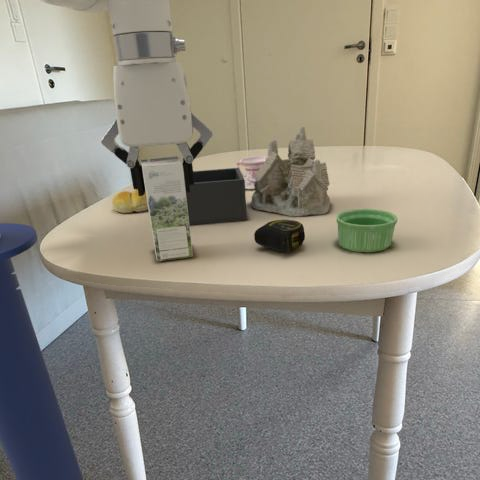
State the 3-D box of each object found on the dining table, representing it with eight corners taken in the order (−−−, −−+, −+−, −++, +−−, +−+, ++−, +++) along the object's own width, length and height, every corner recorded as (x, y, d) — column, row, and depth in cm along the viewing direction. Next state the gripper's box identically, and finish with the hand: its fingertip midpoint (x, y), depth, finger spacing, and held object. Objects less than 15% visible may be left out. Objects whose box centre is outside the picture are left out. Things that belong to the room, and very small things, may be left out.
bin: (181, 225, 85) (176, 185, 81) (182, 208, 96) (178, 172, 92) (246, 220, 85) (244, 179, 82) (241, 204, 96) (238, 167, 93)
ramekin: (378, 258, 64) (381, 229, 62) (324, 247, 70) (325, 220, 68) (403, 240, 70) (407, 213, 68) (352, 232, 75) (353, 206, 73)
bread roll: (116, 205, 102) (113, 188, 100) (155, 202, 102) (153, 184, 100) (110, 215, 95) (106, 196, 93) (152, 212, 95) (149, 193, 93)
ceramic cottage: (251, 197, 100) (250, 125, 92) (325, 197, 99) (331, 124, 91) (248, 222, 87) (247, 140, 78) (334, 222, 86) (341, 139, 77)
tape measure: (252, 249, 71) (251, 226, 69) (282, 237, 75) (281, 216, 73) (283, 258, 67) (283, 234, 65) (313, 246, 70) (314, 223, 69)
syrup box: (189, 246, 74) (178, 154, 67) (193, 258, 69) (182, 160, 62) (155, 250, 73) (140, 158, 66) (156, 263, 68) (140, 164, 61)
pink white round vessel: (281, 178, 117) (281, 154, 114) (280, 189, 106) (280, 162, 103) (236, 180, 118) (234, 156, 115) (231, 191, 108) (229, 164, 105)
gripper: (211, 49, 61) (221, 182, 70) (84, 57, 61) (111, 191, 69) (212, 45, 55) (224, 193, 63) (71, 55, 54) (102, 203, 63)
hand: (165, 190), depth 66 cm, fingers closed on syrup box, 6 cm apart
